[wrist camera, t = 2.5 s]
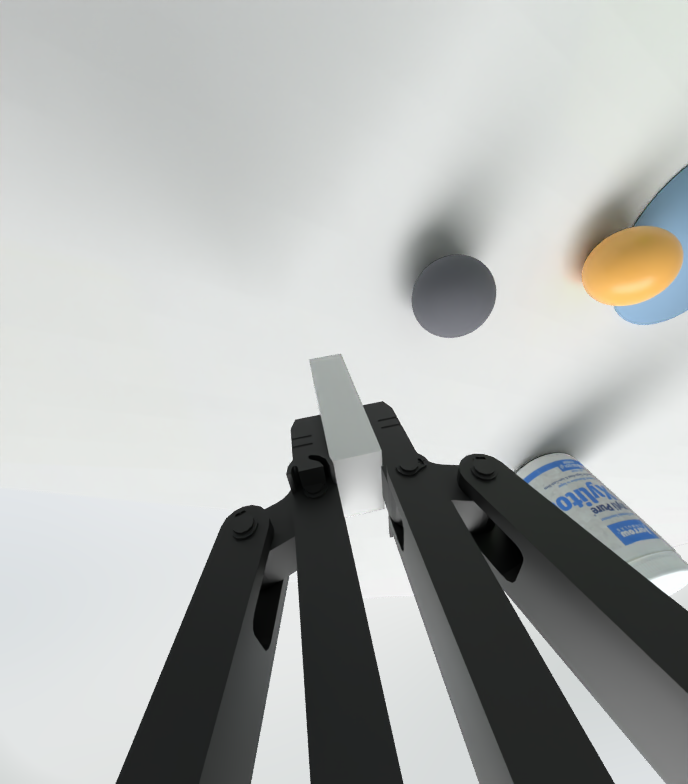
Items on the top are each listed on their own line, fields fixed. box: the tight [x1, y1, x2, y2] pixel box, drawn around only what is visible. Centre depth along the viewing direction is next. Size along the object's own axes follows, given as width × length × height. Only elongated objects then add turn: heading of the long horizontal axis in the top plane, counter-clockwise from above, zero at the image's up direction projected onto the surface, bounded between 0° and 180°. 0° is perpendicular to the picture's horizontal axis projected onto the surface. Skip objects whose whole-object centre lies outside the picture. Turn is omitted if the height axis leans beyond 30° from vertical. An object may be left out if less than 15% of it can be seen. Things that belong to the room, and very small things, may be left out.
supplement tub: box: [516, 453, 688, 596], centre depth 35 cm, size 10×10×15 cm
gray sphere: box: [412, 255, 496, 338], centre depth 21 cm, size 6×6×6 cm
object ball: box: [582, 226, 684, 306], centre depth 23 cm, size 6×6×6 cm
